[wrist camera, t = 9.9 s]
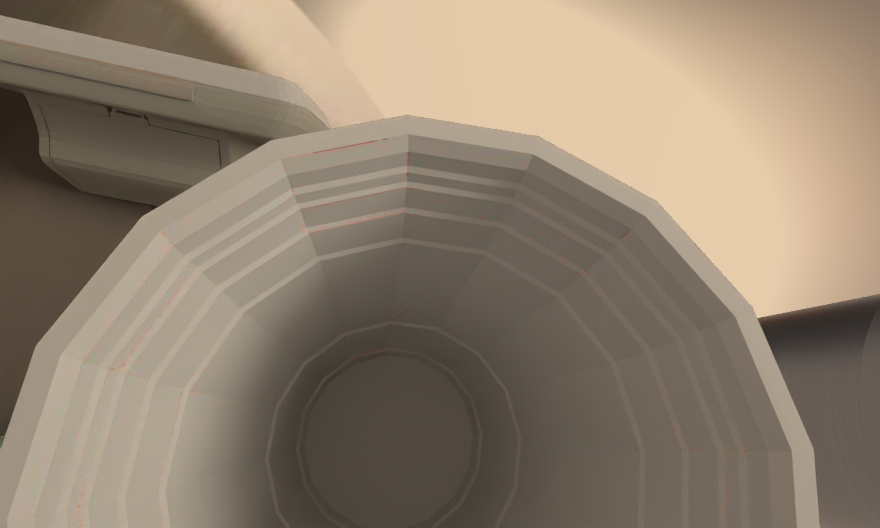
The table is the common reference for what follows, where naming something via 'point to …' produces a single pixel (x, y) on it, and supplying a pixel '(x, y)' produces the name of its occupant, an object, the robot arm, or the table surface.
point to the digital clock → (143, 111)
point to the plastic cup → (407, 355)
